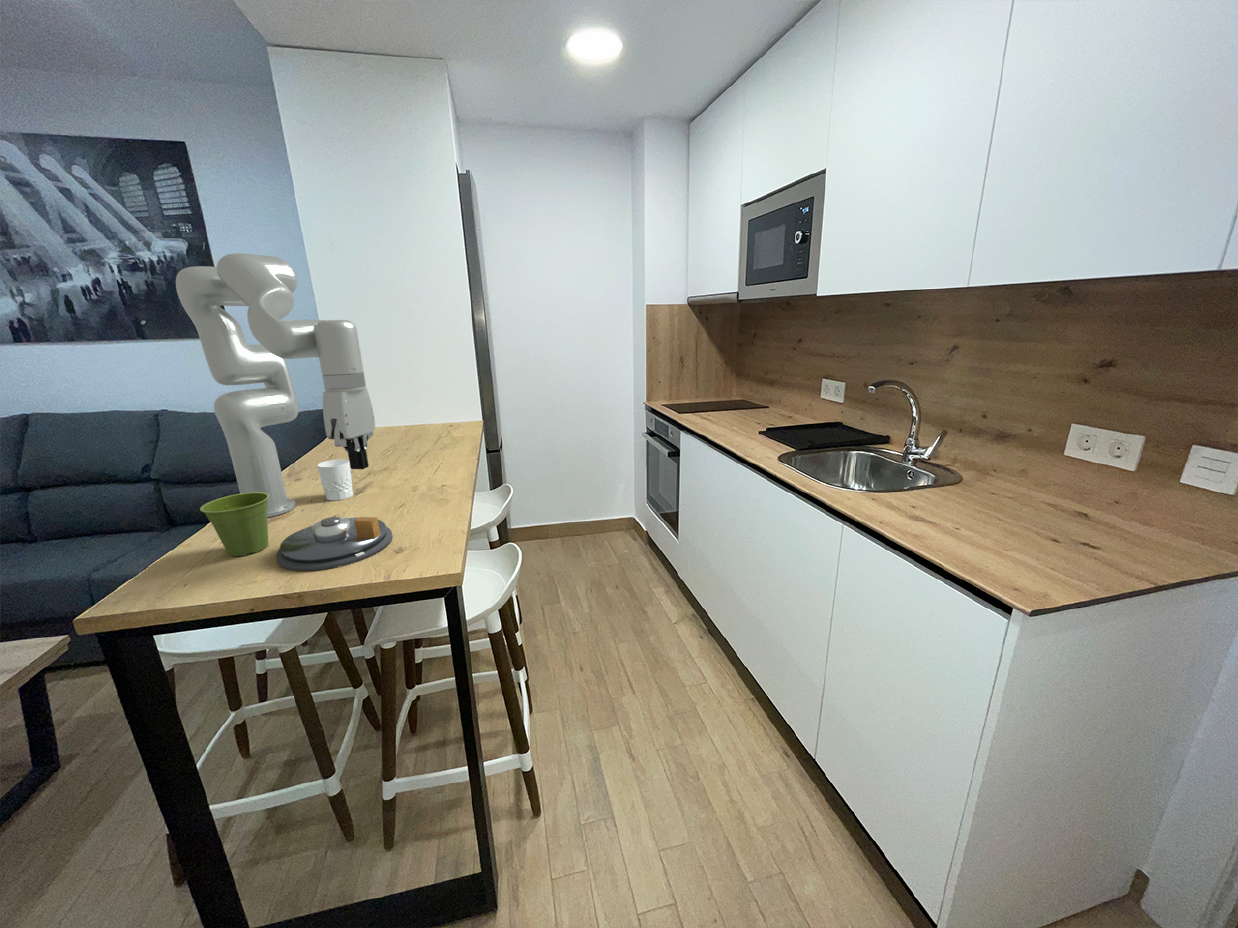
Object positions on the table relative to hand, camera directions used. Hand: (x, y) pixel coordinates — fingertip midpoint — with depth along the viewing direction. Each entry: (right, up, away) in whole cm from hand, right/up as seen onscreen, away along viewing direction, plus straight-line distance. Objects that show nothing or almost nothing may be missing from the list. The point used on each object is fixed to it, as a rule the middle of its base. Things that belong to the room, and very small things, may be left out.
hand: (359, 468), depth 106 cm
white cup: (-23, -9, +34) cm, 42 cm away
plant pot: (-25, -18, +1) cm, 31 cm away
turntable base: (-6, -17, +1) cm, 18 cm away
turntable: (-6, -16, +1) cm, 17 cm away
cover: (-6, -15, 0) cm, 16 cm away
